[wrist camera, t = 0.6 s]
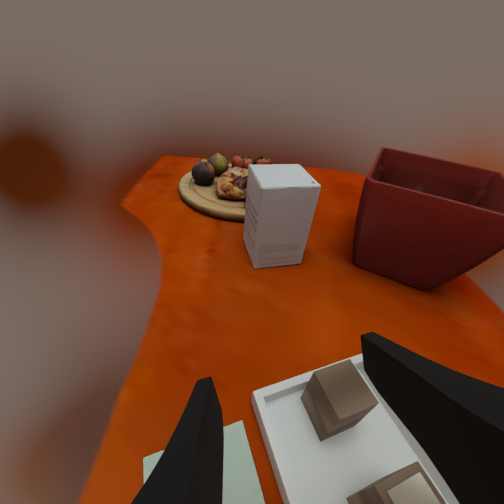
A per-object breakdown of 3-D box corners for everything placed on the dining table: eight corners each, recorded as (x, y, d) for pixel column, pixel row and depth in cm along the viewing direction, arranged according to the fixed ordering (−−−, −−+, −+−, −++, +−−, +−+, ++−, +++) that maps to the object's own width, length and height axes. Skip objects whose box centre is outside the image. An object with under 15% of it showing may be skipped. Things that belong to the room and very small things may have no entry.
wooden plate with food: (313, 229, 54) (323, 194, 49) (164, 219, 51) (159, 181, 46) (290, 175, 79) (296, 148, 74) (190, 166, 77) (188, 138, 72)
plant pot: (452, 317, 37) (545, 223, 27) (330, 268, 44) (365, 177, 33) (444, 251, 51) (503, 171, 40) (351, 221, 57) (381, 146, 47)
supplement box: (285, 235, 51) (300, 162, 41) (301, 264, 44) (324, 185, 34) (241, 238, 48) (247, 162, 39) (252, 269, 42) (262, 187, 32)
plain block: (354, 426, 25) (379, 402, 21) (320, 441, 23) (339, 420, 20) (331, 385, 27) (349, 358, 24) (300, 397, 26) (313, 371, 22)
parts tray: (477, 538, 20) (500, 537, 18) (330, 653, 15) (343, 664, 14) (357, 362, 30) (365, 352, 29) (250, 401, 26) (252, 391, 24)
